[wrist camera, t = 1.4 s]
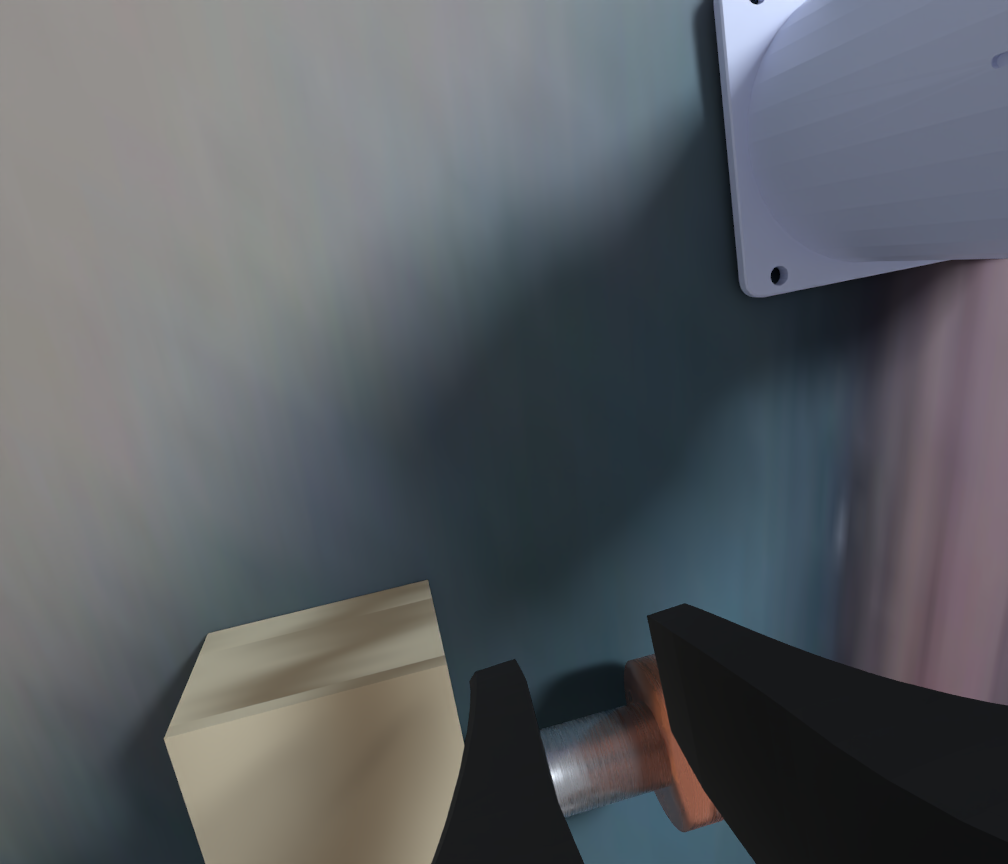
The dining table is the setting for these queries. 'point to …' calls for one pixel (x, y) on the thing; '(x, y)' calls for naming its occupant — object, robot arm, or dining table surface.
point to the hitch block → (321, 735)
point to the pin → (627, 756)
